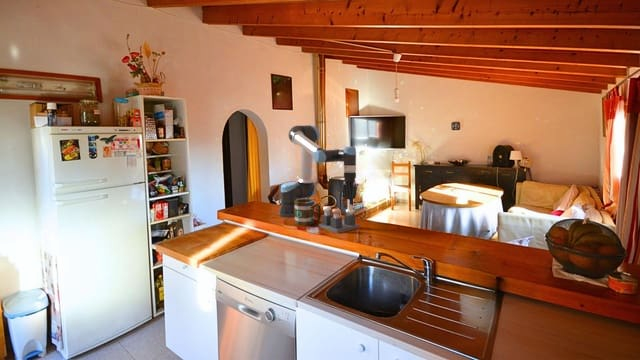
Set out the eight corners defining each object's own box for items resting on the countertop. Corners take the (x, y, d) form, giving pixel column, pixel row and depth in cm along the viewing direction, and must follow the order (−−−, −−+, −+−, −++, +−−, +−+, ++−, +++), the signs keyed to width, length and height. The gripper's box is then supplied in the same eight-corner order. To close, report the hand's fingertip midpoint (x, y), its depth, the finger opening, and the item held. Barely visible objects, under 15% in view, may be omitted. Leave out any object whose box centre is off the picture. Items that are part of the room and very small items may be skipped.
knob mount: (318, 226, 220) (318, 214, 219) (339, 222, 231) (339, 210, 230) (336, 233, 206) (336, 220, 205) (358, 227, 217) (358, 215, 216)
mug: (290, 223, 228) (289, 201, 226) (302, 219, 239) (302, 198, 237) (314, 228, 217) (313, 204, 215) (326, 223, 228) (326, 201, 225)
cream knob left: (344, 222, 218) (344, 209, 217) (350, 220, 221) (350, 208, 220) (349, 223, 214) (349, 211, 213) (355, 222, 217) (355, 209, 216)
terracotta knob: (330, 222, 211) (330, 209, 210) (336, 221, 214) (336, 208, 213) (336, 224, 207) (335, 210, 206) (342, 222, 210) (342, 209, 209)
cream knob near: (321, 219, 218) (321, 207, 217) (327, 218, 221) (327, 205, 220) (326, 221, 214) (326, 208, 213) (332, 219, 217) (332, 207, 216)
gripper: (338, 171, 216) (338, 208, 219) (352, 173, 206) (352, 212, 209) (347, 170, 221) (347, 206, 224) (361, 172, 210) (361, 210, 213)
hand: (349, 209), depth 216 cm, fingers closed
